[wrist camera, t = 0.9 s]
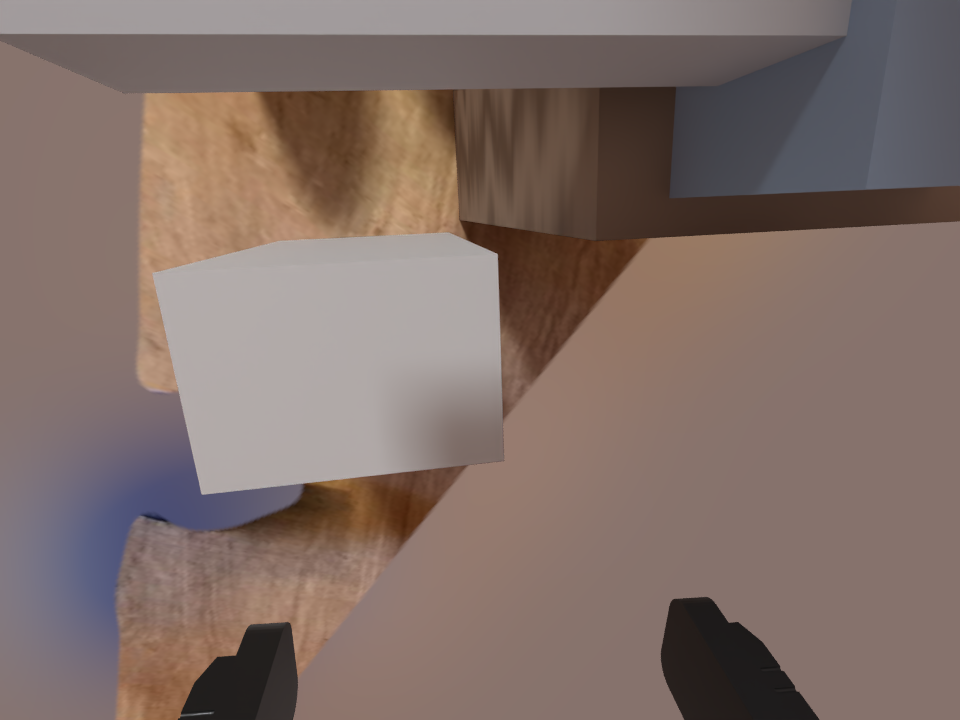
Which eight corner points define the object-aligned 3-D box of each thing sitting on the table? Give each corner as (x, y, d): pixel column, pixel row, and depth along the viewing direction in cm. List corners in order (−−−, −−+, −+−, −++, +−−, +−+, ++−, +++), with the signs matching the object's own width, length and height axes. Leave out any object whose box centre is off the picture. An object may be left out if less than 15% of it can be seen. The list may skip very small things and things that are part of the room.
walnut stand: (452, 90, 41) (607, -249, 11) (596, 89, 43) (1084, -212, 12) (459, 220, 44) (595, 240, 14) (593, 213, 46) (983, 219, 15)
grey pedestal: (279, 240, 42) (152, 273, 20) (448, 232, 44) (497, 254, 22) (297, 357, 45) (201, 494, 23) (455, 344, 47) (504, 461, 25)
